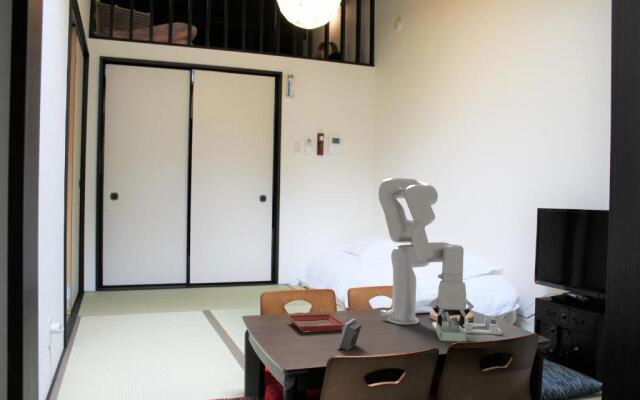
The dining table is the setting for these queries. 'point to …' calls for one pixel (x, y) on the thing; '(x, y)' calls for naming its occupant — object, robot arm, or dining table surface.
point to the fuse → (490, 321)
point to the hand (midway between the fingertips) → (450, 325)
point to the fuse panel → (469, 326)
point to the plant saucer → (334, 321)
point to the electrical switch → (349, 334)
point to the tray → (450, 334)
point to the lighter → (452, 322)
